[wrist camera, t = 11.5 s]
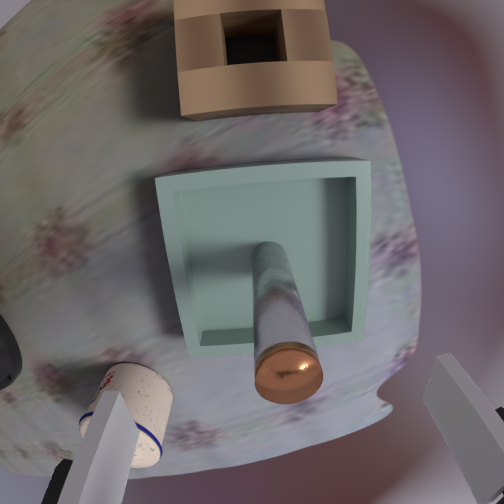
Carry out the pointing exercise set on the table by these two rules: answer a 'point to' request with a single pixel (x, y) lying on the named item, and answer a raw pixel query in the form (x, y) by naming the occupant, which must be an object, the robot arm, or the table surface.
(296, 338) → the pin
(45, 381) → the table surface
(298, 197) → the tray
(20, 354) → the robot arm
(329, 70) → the block
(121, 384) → the teacup with lid
